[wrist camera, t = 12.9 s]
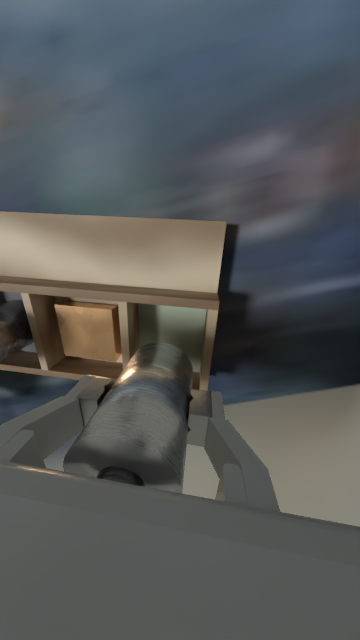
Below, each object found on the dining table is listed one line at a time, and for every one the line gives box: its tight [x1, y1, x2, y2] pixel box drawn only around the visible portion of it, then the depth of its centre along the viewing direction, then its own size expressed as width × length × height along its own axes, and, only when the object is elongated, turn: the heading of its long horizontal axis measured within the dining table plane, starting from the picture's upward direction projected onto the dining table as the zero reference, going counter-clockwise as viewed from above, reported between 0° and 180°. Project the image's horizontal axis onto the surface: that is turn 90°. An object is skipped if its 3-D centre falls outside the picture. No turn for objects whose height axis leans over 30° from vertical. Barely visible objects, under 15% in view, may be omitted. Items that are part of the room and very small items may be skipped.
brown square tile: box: [54, 301, 121, 362], centre depth 15 cm, size 5×5×1 cm
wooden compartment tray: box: [0, 212, 227, 391], centre depth 15 cm, size 13×20×3 cm, turn 87°
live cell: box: [63, 342, 193, 494], centre depth 8 cm, size 4×4×7 cm
